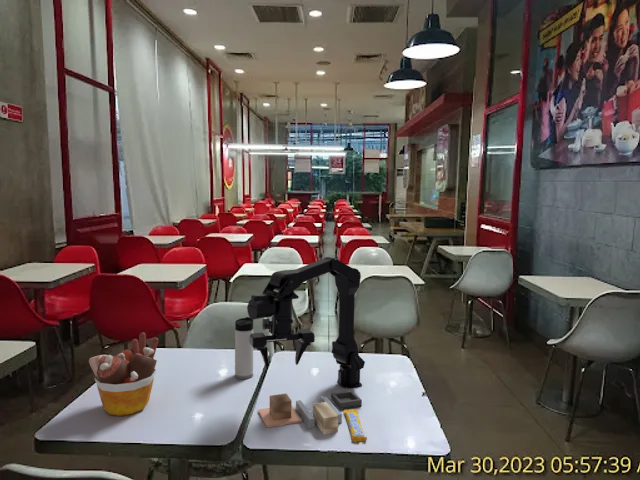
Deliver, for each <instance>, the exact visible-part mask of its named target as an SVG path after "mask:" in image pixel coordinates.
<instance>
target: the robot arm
mask: <svg viewBox="0 0 640 480" xmlns="http://www.w3.org/2000/svg"><path fill="white" fill-rule="evenodd" d="M327 273H329V275H331V276H333V277H334V283H335V286H336V288H337V291H338V293H339V301H338V302H339V306H338V308H339V310H338V315H339V317H338V337H337V338H336V340H335V341H332V342H331V348H332V349H331V354H332V356H333V358H334V359H335V362H336V364H338V365H339V369H338V370H337V381H336V382H338V384H339V385H340V386H341V387H343V389H349V388H350V389H351V388H355V387H356V388H358V387H362V386H363V383H362V382H361V370H362V369H364V367H365V363H366V361H365V360H364V359H363V358H362V357H361V356H360V353H359V346H358V344H357V342H356V339H355V335H354V332H355V331H354V330H355V303H356V302H355V298H356V293H357V291H358V290H359V288H360V286H361V285H360V283H361V279H362V278H361V277H362V275H361V274H362V273H361V271H359V269H357V268H355V267H352V266H350V265H347V264H345V263H344V262H343V261H340V260H339V259H338V258H336V257H330V256H325V257H324V258H322V259H320V260H317V261H315V262H311V263H309V264H307V265H304V266H301V267H298V268H296V269H284V270H277V271H275V272H273V273H272V274H271V277H270V278H269V282H268V283H267V285H266V286H265V287H264V290H263V291H262V294H251V296H250V297H251V298H250V300H249V301H248V304H247V307H246V308H247V309H246V310H247V314H248V317H250V318H251V319H252V320H253V321H254V320H259V319H262V322H261V323H262V330H268V333H270V335H265V333H263V332H253V333H251V335H250V336H249V343H250V344H251V346H252V347H253V349H256V350H257V351H259V352H260V354H261V357H262V360H263V362H264V363H263V364H264V366H265V368H266V369H268V368H269V350H268V349H269V348H268V347H267V344H268V343H273V342H274V343H275V342H284V341H295V344H296V345H295V346H296V347H295V358H294V359H295V360H294V362H295V363H294V364H295V365H296V366H298V365H299V363H300V361H301V358H302V357H303V355H304V352H305V351H306V349H307V347H308V346H311V343H314V342H315V340H316V337H315V333H314V332H313V331H312V330H310V329H309V328H299V329H297V330H296V332H295V333H294V332H293V324H294V319H293V300H295V299H296V300H297V299H299V297H300V296H299V295H298V294H296V292H295V290H298V289H299V288H300V286H301V285H302V284H304V283H305V282H308V281H310V280H313V279H315V278H317V277H321V276H323V275H326V274H327ZM270 318H271V321H270Z"/></svg>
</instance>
